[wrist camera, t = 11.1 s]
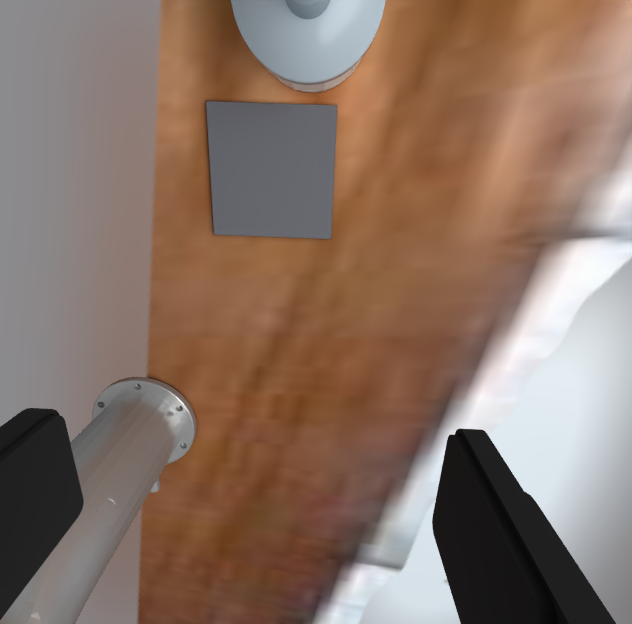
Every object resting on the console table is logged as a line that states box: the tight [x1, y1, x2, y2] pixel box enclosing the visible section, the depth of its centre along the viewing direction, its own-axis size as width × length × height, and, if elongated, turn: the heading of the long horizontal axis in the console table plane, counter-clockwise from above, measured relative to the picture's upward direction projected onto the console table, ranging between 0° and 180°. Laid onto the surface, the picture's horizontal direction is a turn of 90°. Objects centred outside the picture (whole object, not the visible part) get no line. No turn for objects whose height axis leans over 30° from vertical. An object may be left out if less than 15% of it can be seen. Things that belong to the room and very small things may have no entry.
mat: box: [206, 101, 337, 239], centre depth 35 cm, size 12×12×1 cm
